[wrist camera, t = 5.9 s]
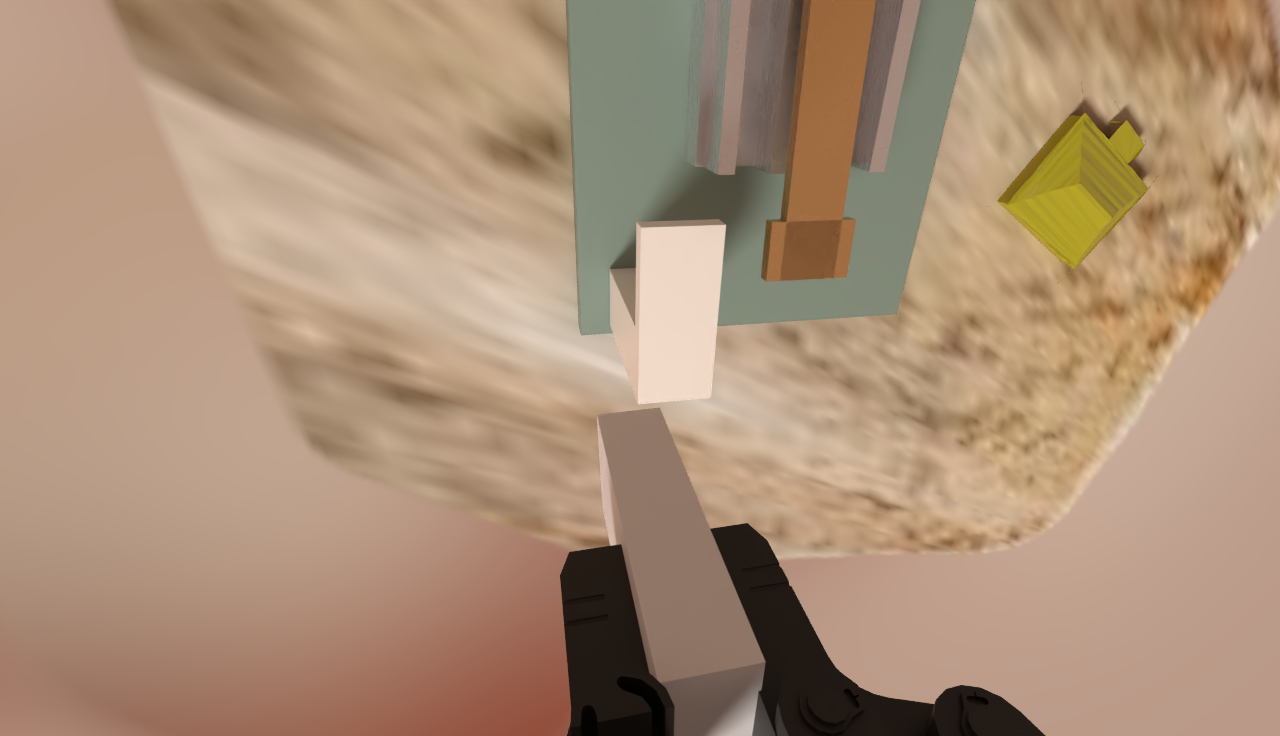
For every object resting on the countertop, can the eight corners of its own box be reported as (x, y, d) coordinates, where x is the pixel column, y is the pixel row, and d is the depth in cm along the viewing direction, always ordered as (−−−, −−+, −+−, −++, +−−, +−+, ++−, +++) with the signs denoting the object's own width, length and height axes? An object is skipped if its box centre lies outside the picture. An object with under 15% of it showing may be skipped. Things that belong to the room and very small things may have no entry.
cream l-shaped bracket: (608, 184, 26) (640, 227, 19) (672, 183, 26) (726, 224, 19) (610, 325, 29) (638, 404, 22) (666, 321, 29) (710, 397, 23)
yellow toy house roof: (952, 207, 32) (988, 219, 29) (1078, 53, 29) (1131, 52, 27) (1045, 290, 36) (1084, 307, 33) (1164, 161, 33) (1216, 169, 31)
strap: (809, -261, 17) (825, -281, 16) (917, -247, 17) (938, -266, 17) (759, 276, 24) (768, 283, 23) (837, 272, 24) (849, 278, 24)
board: (550, -387, 18) (567, -601, 12) (1032, -312, 21) (1230, -455, 15) (578, 325, 30) (593, 390, 24) (884, 306, 33) (963, 359, 27)
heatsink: (694, -57, 22) (727, -79, 18) (880, -47, 23) (943, -65, 20) (683, 159, 26) (709, 175, 22) (844, 157, 27) (891, 171, 24)
